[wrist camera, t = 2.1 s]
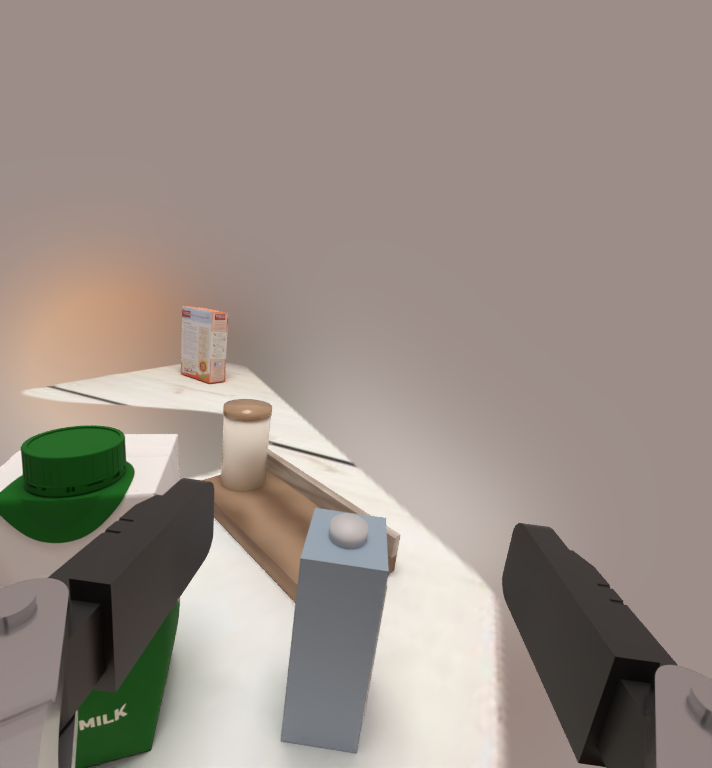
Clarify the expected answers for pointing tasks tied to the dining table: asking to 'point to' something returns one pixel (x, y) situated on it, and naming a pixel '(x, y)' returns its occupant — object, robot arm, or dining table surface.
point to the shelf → (281, 518)
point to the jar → (245, 444)
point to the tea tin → (335, 629)
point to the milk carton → (71, 534)
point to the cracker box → (204, 344)
